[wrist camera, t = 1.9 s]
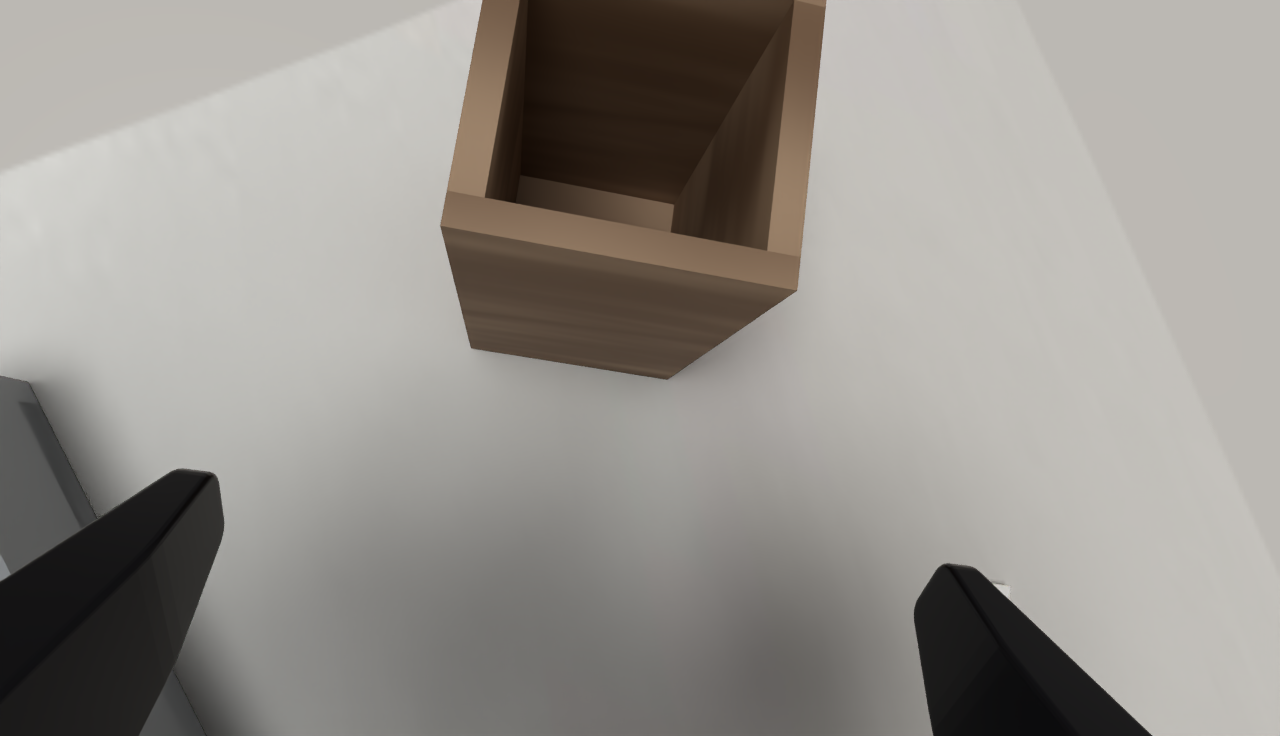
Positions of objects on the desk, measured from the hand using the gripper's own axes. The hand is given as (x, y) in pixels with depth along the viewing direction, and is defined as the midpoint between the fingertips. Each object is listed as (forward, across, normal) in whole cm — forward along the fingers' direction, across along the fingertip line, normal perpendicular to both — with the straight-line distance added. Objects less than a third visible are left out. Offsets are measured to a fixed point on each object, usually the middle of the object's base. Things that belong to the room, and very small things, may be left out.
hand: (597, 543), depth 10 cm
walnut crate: (+15, 0, +4) cm, 15 cm away
